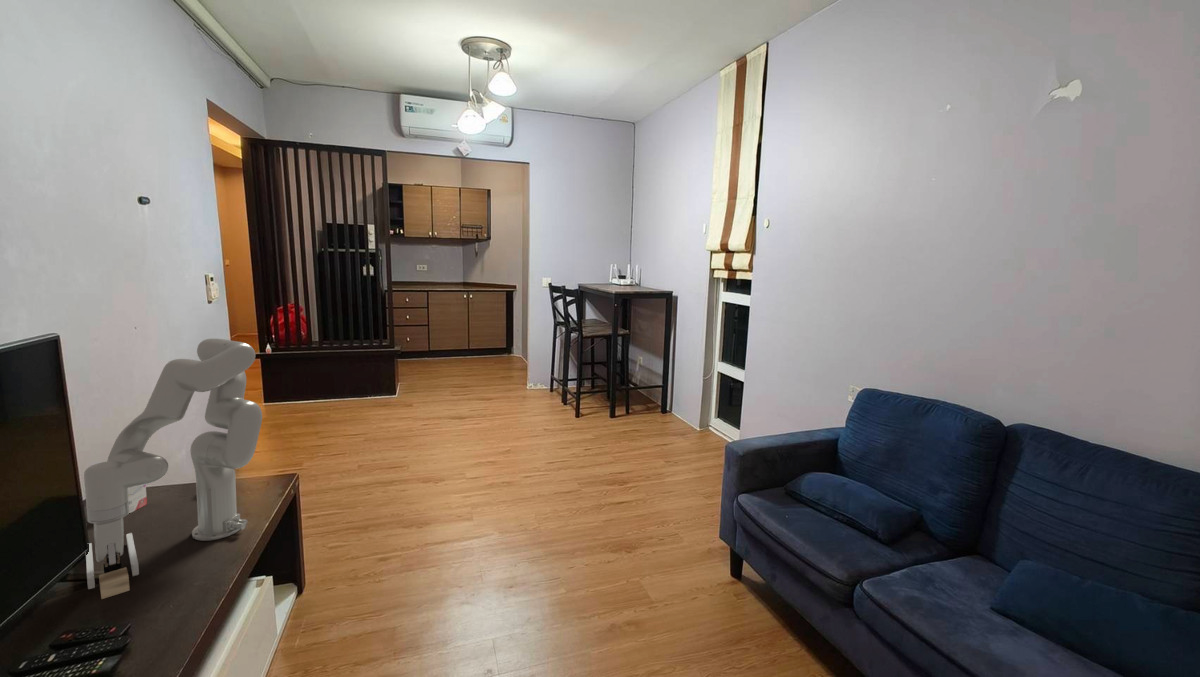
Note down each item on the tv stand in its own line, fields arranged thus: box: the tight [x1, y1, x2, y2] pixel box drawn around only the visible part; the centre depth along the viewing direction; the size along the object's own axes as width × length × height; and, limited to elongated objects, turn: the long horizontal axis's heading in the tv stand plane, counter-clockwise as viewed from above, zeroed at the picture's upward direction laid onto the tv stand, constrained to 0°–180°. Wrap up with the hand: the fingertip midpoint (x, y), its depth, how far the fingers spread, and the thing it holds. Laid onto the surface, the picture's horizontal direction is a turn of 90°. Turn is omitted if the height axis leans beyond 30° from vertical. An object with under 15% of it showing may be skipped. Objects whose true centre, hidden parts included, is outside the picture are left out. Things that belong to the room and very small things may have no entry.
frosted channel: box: [85, 532, 140, 590], centre depth 134 cm, size 20×9×3 cm, turn 47°
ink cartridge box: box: [128, 484, 148, 515], centre depth 160 cm, size 9×5×15 cm, turn 179°
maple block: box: [98, 566, 131, 600], centre depth 124 cm, size 5×5×4 cm
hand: (113, 577), depth 127 cm, fingers closed
